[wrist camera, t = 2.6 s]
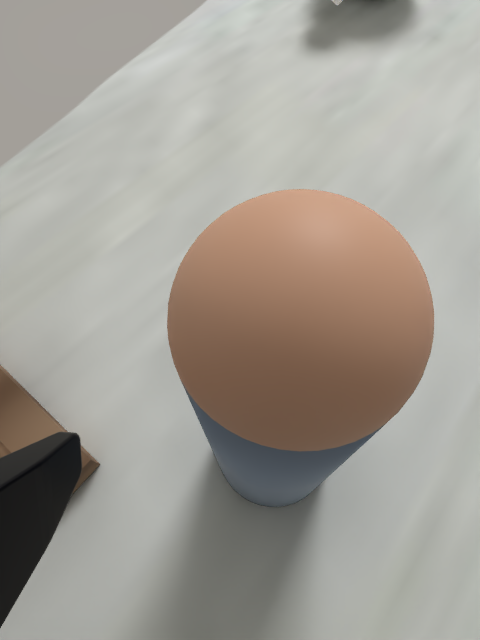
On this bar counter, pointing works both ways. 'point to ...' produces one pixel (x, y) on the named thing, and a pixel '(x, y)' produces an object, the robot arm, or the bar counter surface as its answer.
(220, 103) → the bar counter surface
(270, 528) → the bar counter surface
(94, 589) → the bar counter surface
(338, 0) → the white rounded lump
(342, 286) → the dome-capped blue cylinder
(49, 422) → the jig cradle
